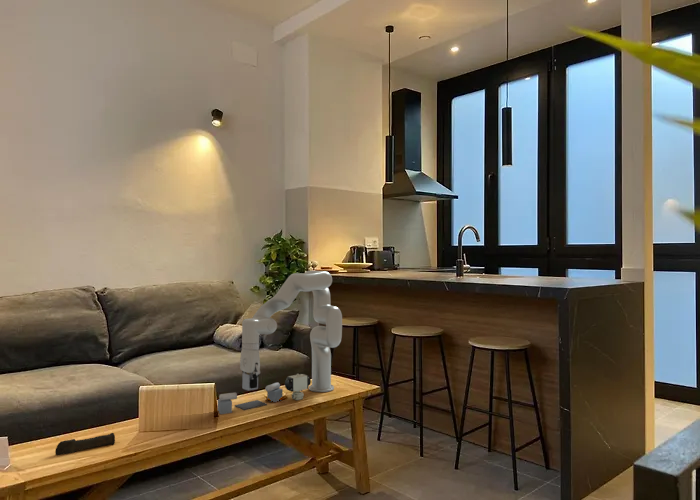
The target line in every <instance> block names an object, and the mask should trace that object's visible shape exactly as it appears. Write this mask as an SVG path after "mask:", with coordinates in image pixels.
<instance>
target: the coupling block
mask: <svg viewBox="0 0 700 500" xmlns="http://www.w3.org/2000/svg"><path fill="white" fill-rule="evenodd" d="M254 374H255V373H254ZM254 374H253V376H254ZM250 379H251V373H247V372H245V373H243V372H242V385H241V386H242V389H243V390H245V391H254V390H258V389H259V378H258V379H257V388H252V389H251V388H250Z"/></svg>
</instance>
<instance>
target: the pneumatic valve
mask: <svg viewBox="0 0 700 500" xmlns="http://www.w3.org/2000/svg"><path fill="white" fill-rule="evenodd" d="M284 381H285V382H284V387H285V389H286V390H287V391H289V392H292V394H291V398H292V400H295V401H300V400H303V399H304V396H305V394H304V392H303V391H304V390H309V386H311V384H312V379H311V378H310V376H309V375H307V374H305V373H300V374H299V373H296V374H294V375H288V376H287V377H286V380H284Z"/></svg>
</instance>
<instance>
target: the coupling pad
mask: <svg viewBox="0 0 700 500" xmlns="http://www.w3.org/2000/svg"><path fill="white" fill-rule="evenodd" d="M264 406H268V403H266V402H263V401H262V400H259V399H256V400H251V401H247V402H242V403H237V404H234V408H237V409H240V410H242V411H247V410H248V411H249V410H251V409H256V408H259V407H264Z"/></svg>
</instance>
